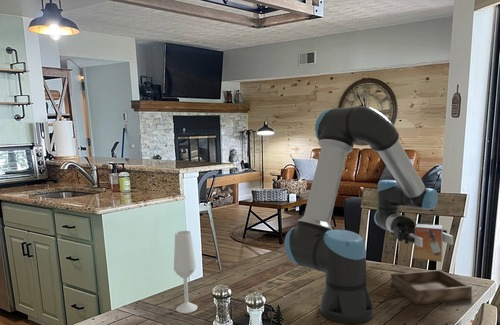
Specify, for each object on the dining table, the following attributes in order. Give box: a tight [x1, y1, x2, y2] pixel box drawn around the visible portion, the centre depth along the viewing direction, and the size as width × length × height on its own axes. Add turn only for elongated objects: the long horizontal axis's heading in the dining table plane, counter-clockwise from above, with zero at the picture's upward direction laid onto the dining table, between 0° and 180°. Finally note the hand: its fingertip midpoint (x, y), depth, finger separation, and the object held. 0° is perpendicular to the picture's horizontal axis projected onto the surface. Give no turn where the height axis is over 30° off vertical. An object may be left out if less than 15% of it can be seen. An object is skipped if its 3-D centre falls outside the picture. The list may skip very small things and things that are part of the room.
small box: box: [414, 223, 444, 262], centre depth 128 cm, size 8×6×10 cm
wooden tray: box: [390, 269, 473, 306], centre depth 129 cm, size 18×16×4 cm
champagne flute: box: [173, 230, 199, 314], centre depth 123 cm, size 7×7×24 cm
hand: (436, 241), depth 123 cm, fingers closed on small box, 9 cm apart
